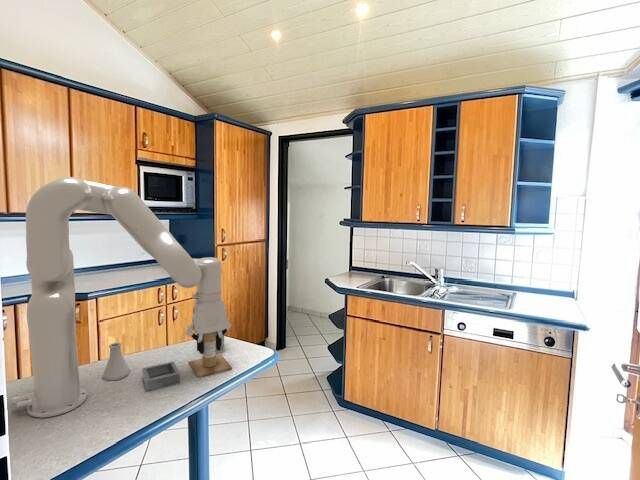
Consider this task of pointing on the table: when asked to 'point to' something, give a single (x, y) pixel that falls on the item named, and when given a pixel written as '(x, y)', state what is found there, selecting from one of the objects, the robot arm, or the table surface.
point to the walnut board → (206, 371)
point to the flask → (116, 364)
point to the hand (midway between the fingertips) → (209, 350)
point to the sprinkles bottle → (209, 349)
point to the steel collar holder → (163, 380)
